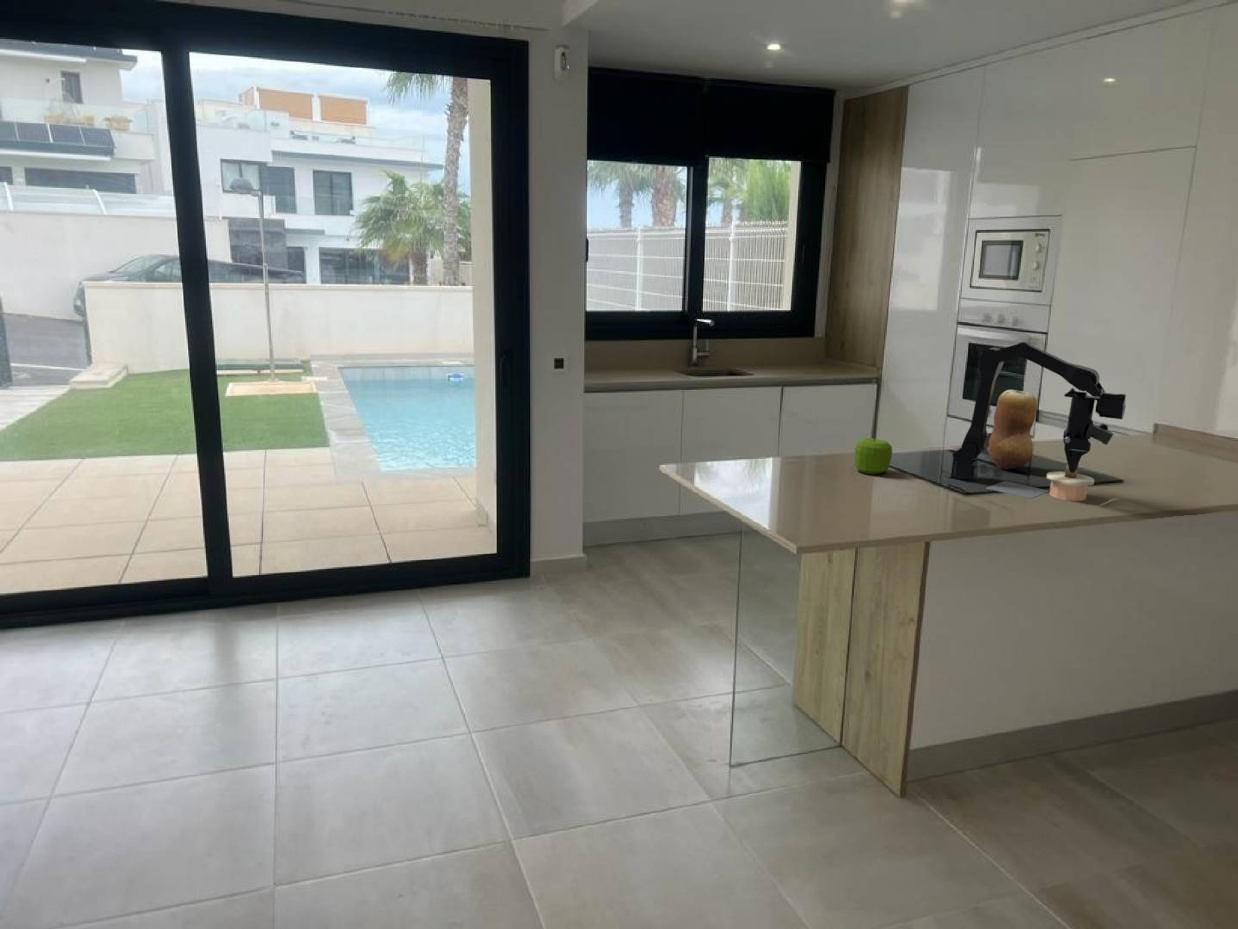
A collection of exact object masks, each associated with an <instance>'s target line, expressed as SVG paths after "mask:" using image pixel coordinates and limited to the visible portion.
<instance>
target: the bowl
mask: <svg viewBox="0 0 1238 929" xmlns="http://www.w3.org/2000/svg"><path fill="white" fill-rule="evenodd" d="M1088 488H1089V486H1073V485H1065V484H1060V483H1056V482H1053V481H1050V486H1049V492H1048V493H1049V495H1050V496H1051V497H1053V498H1056V499H1060V500H1064V501H1073V502H1081V501H1082V502H1083V501H1086V500H1087V494H1088Z"/></svg>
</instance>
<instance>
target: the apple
mask: <svg viewBox="0 0 1238 929" xmlns="http://www.w3.org/2000/svg"><path fill="white" fill-rule="evenodd" d="M892 455H893V448H892V444H890V443H889V442H888V441H886V440H883V439H878V438H876V437H872V438H867V437H866V438H861V439H859V440H858V441H857V442H856V444H855V447H854V455H853V456H854V457H853V458H854V467H856V468H857V469H858V471H859V472H861V473H864V474H867V475H879V474H882V473H884V472H887V471H888V470H889V468H890V466H891V462H892V461H891V460H892Z"/></svg>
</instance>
